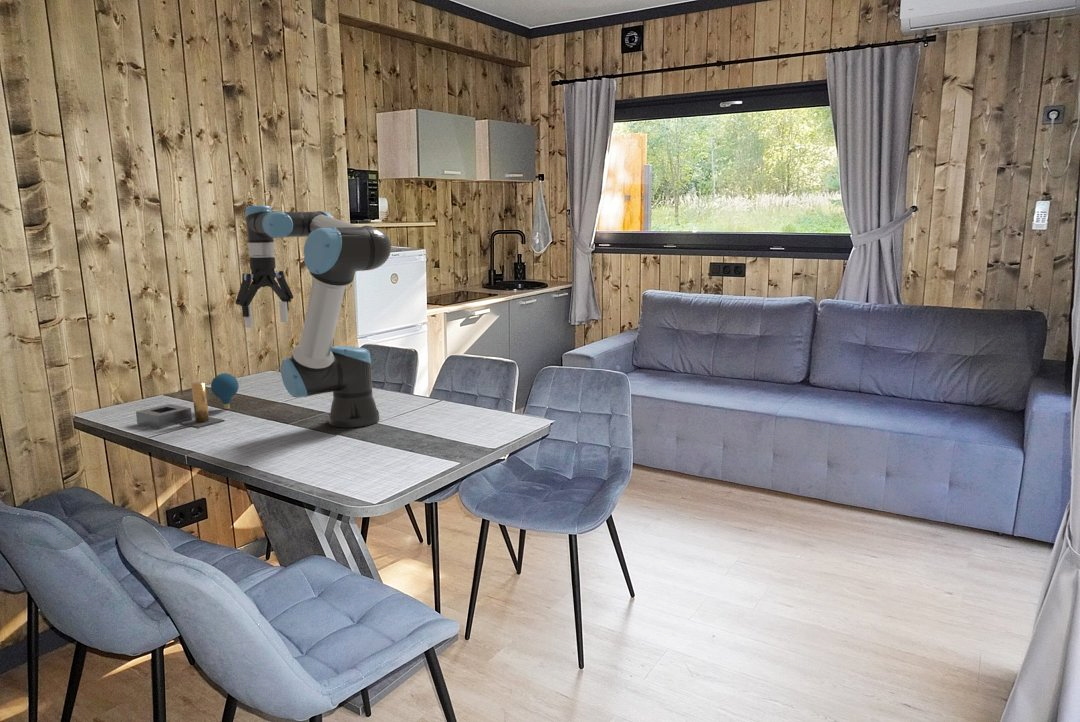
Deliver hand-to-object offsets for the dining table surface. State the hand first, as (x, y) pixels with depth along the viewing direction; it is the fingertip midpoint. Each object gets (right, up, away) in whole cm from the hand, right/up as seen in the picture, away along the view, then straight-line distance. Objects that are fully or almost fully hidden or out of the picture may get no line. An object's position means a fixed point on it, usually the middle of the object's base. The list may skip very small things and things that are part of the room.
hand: (267, 324), depth 238 cm
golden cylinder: (-18, -30, -5) cm, 35 cm away
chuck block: (-30, -30, -4) cm, 43 cm away
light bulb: (-17, -27, +11) cm, 34 cm away
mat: (-18, -30, -5) cm, 36 cm away
